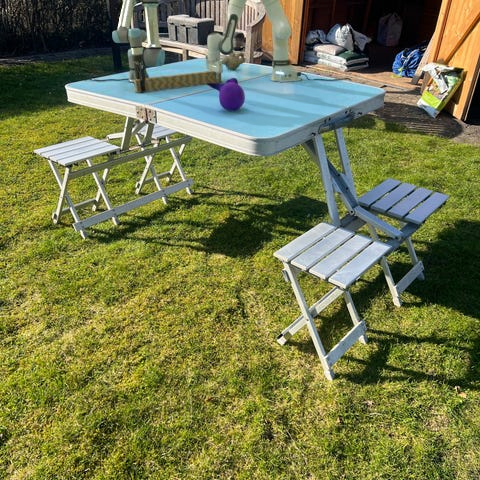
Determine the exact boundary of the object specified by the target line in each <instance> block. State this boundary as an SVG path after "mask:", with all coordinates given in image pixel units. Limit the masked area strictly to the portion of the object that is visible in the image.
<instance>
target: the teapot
mask: <svg viewBox="0 0 480 480" xmlns="http://www.w3.org/2000/svg"><path fill="white" fill-rule="evenodd" d="M239 58H240V59H239ZM221 62H222V65H224V66H225V68H226V69H227V70H228V71H235V70H237V69H239V67H240V66H241V65H243V64H244V63H245V54H244V52H242V51H240V52H239V53H237V54H236V53H235V52H234V51H233V52H232V53H231V54H229V55H228V56H224V57H222V59H221Z"/></svg>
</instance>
